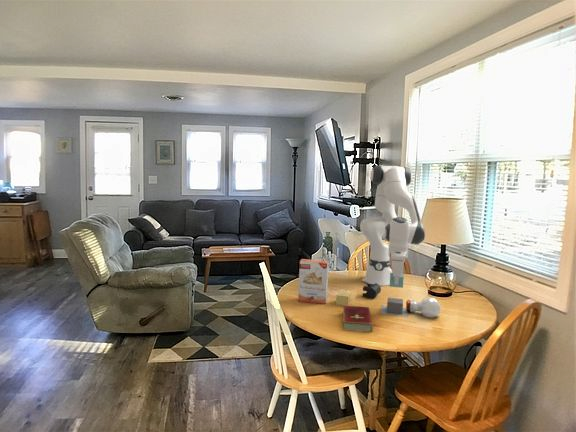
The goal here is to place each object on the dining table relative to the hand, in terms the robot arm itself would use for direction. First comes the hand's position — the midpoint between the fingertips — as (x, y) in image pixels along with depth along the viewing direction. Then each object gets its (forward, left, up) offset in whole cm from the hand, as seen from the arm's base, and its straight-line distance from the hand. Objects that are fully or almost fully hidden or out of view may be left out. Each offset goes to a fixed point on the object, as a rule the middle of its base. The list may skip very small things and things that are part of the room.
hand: (396, 282), depth 191 cm
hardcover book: (+17, -16, -16) cm, 28 cm away
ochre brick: (-5, -25, -15) cm, 30 cm away
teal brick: (0, 0, -2) cm, 2 cm away
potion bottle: (0, +13, -15) cm, 20 cm away
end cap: (-20, -12, -15) cm, 28 cm away
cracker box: (-3, -40, -15) cm, 43 cm away
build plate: (0, 0, -15) cm, 15 cm away
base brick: (0, 0, -14) cm, 14 cm away
